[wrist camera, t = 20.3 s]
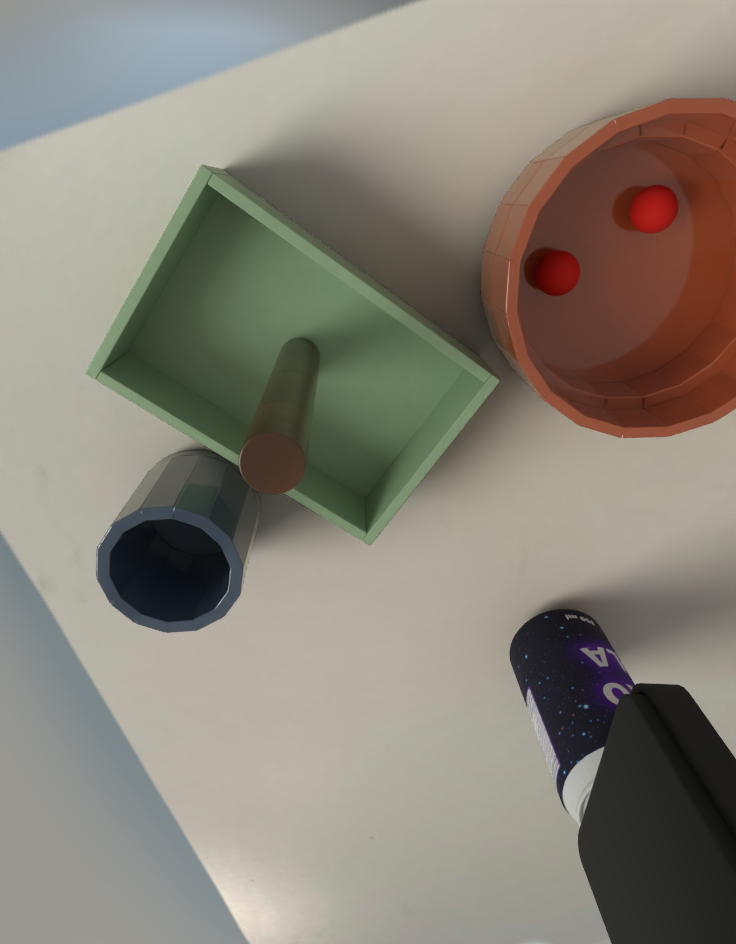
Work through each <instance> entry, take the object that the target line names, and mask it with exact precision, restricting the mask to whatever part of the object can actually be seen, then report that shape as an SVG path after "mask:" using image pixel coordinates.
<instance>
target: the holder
mask: <svg viewBox="0 0 736 944" xmlns="http://www.w3.org/2000/svg"><path fill="white" fill-rule="evenodd" d="M259 513H260V502H259V497H258V493H257V490H255V489H254V488H252V487H251V486H250V485H249V484H248V483H247V482H246V481H245V480H244V478H243V477H242V475H241V472H240V469H239V466H237V465H236V464H234V463H232V462H231V461H229V460H227V459H226V458H224V457H222V456H221V455H219V454H216V453H212V452H208V451H201V450H190V451H183V452H178V453H175V454H172V455H170V456H168V457H166V458H164V459H162V460H161V461H160V462H158V463H157V464H156V465H155V466H154V467H153V468H152V469H151V470H150V471H149V472H148V473H147V475H146V476H145V477H144V479H143V480H142V482H141V483H140V485H139V486H138V487H137V489H136V490H135V492H134V493H133V495H132V496H131V497H130V499H129V500H128V502H127V503H126V505H125V506H124V507H123V509H122V510H121V512H120V513H119V515H118V516H117V517H116V519H115V520H114V522H113V523H112V525H111V526H110V528H109V529H108V531H107V533H106V534H105V536H104V537H103V539H102V541H101V542H100V544H99V545H98V547H97V560H96V576H97V580H98V582H99V583H100V585H101V587H102V589H103V591H104V593H105V595H106V597H107V599H108V600H109V602H110V603H111V605H112V606H114V607H115V608H116V609H118V610H119V611H120V612H121V613H123V614H124V615H125V616H126V617H128V618H129V619H130V620H132V621H133V622H134V623H136V624H139V625H142V626H146V627H149V628H152V629H156V630H159V631H162V632H167V633H170V632H184V631H197V630H199V629H201V628H203V627H205V626H207V625H209V624H211V623H213V622H215V621H217V620H219V619H221V618H223V617H224V616H225V615H226V614H227V612H228V611H229V610H230V608H231V607H232V606H233V604H234V603H235V601H236V600H237V599H238V597H239V596H240V594H241V591H242V587H243V583H244V579H245V575H246V571H247V567H248V563H249V559H250V555H251V551H252V547H253V543H254V539H255V535H256V531H257V524H258V519H259Z"/></svg>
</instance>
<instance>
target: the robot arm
mask: <svg viewBox="0 0 736 944" xmlns="http://www.w3.org/2000/svg"><path fill="white" fill-rule="evenodd" d="M578 847H579V854H580V858H581V862H582V865H583V867H584V870H585V873H586V875H587V878H588V881H589V884H590V886H591V889H592V892H593V894H594V897H595V900H596V903H597V905H598V908H599V911H600V913H601V916H602V919H603V922H604V924H605V927H606V930H607V932H608V935H609V938H610V940H611V943H612V944H736V759H735V757H734V756H733V754H732V753H731V752H730V750H729V749H728V747H727V746H726V744H725V743H724V742H723V740H722V739H721V737H720V736H719V735H718V733H717V732H716V730H715V729H714V727H713V726H712V725H711V723H710V722H709V720H708V719H707V718H706V716H705V715H704V713H703V712H702V711H701V709H700V708H699V706H698V705H697V703H696V702H695V701H694V699H693V698H692V696H691V695H690V694H689V692H688V691H687V690H686V689H685V688H684V687H682V686H680V685H669V684H646V683H640V684H636V685H635V686H634V687H633V688H632V690H631V692H630V694H623V695H622V696H621V697H620V699H619V701H618V704H617V708H616V711H615V714H614V718H613V721H612V724H611V727H610V731H609V734H608V737H607V741H606V744H605V747H604V750H603V754H602V757H601V760H600V763H599V767H598V770H597V773H596V777H595V780H594V783H593V786H592V790H591V793H590V796H589V799H588V803H587V806H586V809H585V813H584V816H583V819H582V822H581V826H580V829H579V834H578Z"/></svg>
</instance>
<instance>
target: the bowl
mask: <svg viewBox="0 0 736 944" xmlns="http://www.w3.org/2000/svg"><path fill="white" fill-rule="evenodd" d="M652 185H663V186H666V187H668V188H670V189H671V190H672V191H673V192H674V193H675V195H676V197H677V199H678V212H677V215H676V218H675V219H674V221H673V222H672V223H671V225H670V226H669V227H667V228H666V229H664V230H663V231H660V232H658V233H653V234H647V233H643V232H640V231H639V230H637V229H636V228H635V227H634V226H633V224H632V223H631V221H630V217H629V209H630V205H631V202H632V200H633V199H634V197H635V196H636V195H637V194H638V193H639V192H640V191H641V190H643V189H644V188H646V187H649V186H652ZM500 204H501V205H499V206H498V209H497V212H496V215H495V218H494V220H493V223H492V226H491V229H490V232H489V234H488V237H487V240H486V243H485V246H484V250H483V257H482V277H481V299H482V303H483V307H484V310H485V314H486V318H487V322H488V325H489V329H490V333H491V336H492V338H493V340H494V341H495V343H496V344H497V346H498V347H499V349H500V350H501V352H502V353H503V355H504V356H505V358H506V359H507V361H508V362H509V364H510V365H511V367H512V368H513V369H514V370H515V371H516V372H517V373H518V374H519V375H520V377H521V378H522V379H523V380H524V381H525V382H527V384H528V385H529V386H530V387H531V388H532V389H533V390H534V391H535V392H536V393H537V394H538V395H539V396H540V397H541V398H542V399H543V400H544V401H546V402H547V403H549V404H550V405H551V406H553V407H554V408H555V409H557V410H558V411H560V412H561V413H562V414H564V415H565V416H566V417H568V418H569V419H570V420H572V421H573V422H575V423H576V424H577V425H580V426H582V427H586V428H589V429H593V430H596V431H599V432H603V433H606V434H609V435H613V436H616V437H619V438H621V437H622V438H642V437H668V436H672V435H675V434H679V433H682V432H685V431H688V430H691V429H694V428H697V427H700V426H704V425H707V424H710V423H713V422H714V421H717V420H719V419H720V418H722V417H723V416H725V415H726V414H728V413H730V412H731V411H733V410H734V409H736V102H735V101H733V100H730V99H727V98H726V99H725V98H671V99H666V100H663V101H659V102H656V103H653V104H649V105H646V106H642V107H639V108H636V109H632V110H629V111H626V112H622V113H619V114H616V115H613V116H610V117H607V118H605V119H602V120H599V121H596V122H594V123H591V124H588V125H585V126H583V127H580V128H577V129H575V130H572V131H570V132H568V133H567V134H565V135H564V136H563V137H561V138H560V139H559V140H557V141H556V142H555V143H554V144H552V145H551V146H550V147H548V148H547V149H546V150H545V151H543V152H542V153H541V154H539V155H538V156H537V157H536V158H534V159H533V160H532V161H530V163H529V164H528V165H527V166H526V168H525V169H524V170H523V172H522V173H521V175H520V176H519V177H518V179H517V180H516V182H515V183H514V184H513V186H512V187H511V188H510V190H509V191H508V193H507V194H506V195H505V197H504V198H503V200H502V201H501V203H500ZM556 250H562V251H566V252H569V253H571V254H572V255H573V256H574V257H575V258H576V259H577V261H578V263H579V266H580V277H579V280H578V283H577V284H576V286H575V287H574V288H573V289H572V290H571V291H570V292H568V293H566V294H564V295H561V296H550V295H547V294H545V293H544V292H542V291H541V290H540V289H539V288H538V286H537V284H536V281H535V269H536V266H537V264H538V262H539V261H540V259H541V258H542V257H543V256H544V255H546V254H547V253H549V252H552V251H556Z"/></svg>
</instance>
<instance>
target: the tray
mask: <svg viewBox="0 0 736 944" xmlns="http://www.w3.org/2000/svg"><path fill="white" fill-rule="evenodd" d="M293 338H305V339H308V340H310V341H311V342H312V343H314V344H315V346H316V347H317V348H318V350H319V353H320V365H319V372H318V380H317V388H316V395H315V403H314V411H313V418H312V426H311V434H310V441H309V449H308V457H307V464H306V471H305V474H304V477H303V479H302V480H301V482H300V483H299V484H298V485H297V486H296V487H295V488H293V489H292V490H290V491H288V492H285V493H284V494H285V495H287V496H289V497H290V498H292V499H294V500H295V501H297V502H299V503H300V504H302V505H304V506H305V507H307V508H309V509H310V510H312V511H313V512H315V513H317V514H318V515H320V516H322V517H323V518H325V519H327V520H328V521H330V522H332V523H333V524H335V525H337V526H338V527H340V528H342V529H343V530H345V531H347V532H348V533H350V534H352V535H353V536H355V537H357V538H358V539H360V540H362V541H363V542H365V543H366V544H368V545H371V544H372V543H373V541H374V540H375V539H376V538H377V536H378V535H379V534H380V532H381V531H382V530H383V529H384V527H385V526H386V525H387V524H388V522H389V521H390V520H391V519H392V517H393V516H394V515H395V513H396V512H397V511H398V510H399V508H400V507H401V506H402V505H403V503H404V502H405V501H406V500H407V498H408V497H409V496H410V495H411V493H412V492H413V491H414V489H415V488H416V487H417V486H418V484H419V483H420V482H421V481H422V479H423V478H424V477H425V476H426V474H427V473H428V472H429V470H430V469H431V468H432V467H433V465H434V464H435V463H436V462H437V460H438V459H439V458H440V457H441V455H442V454H443V453H444V452H445V450H446V449H447V448H448V446H449V445H450V444H451V443H452V441H453V440H454V439H455V438H456V436H457V435H458V434H459V433H460V431H461V430H462V429H463V427H464V426H465V425H466V424H467V422H468V421H469V420H470V419H471V417H472V416H473V415H474V414H475V412H476V411H477V410H478V409H479V407H480V406H481V405H482V403H483V402H484V401H485V400H486V398H487V397H488V396H489V395H490V393H491V392H492V391H493V390H494V388H495V387H496V386H497V384H498V383H499V382H500V379H499V378H498V377H497V376H496V375H495V374H494V372H493V371H492V370H491V369H490V368H489V367H488V365H487V364H486V363H485V362H484V361H483V360H482V359H481V357H479V356H478V355H477V354H475V353H474V352H472V351H471V350H470V349H468V348H467V347H466V346H464V345H463V344H461V343H460V342H459V341H457V340H456V339H455V338H453V337H452V336H451V335H449V334H448V333H446V332H445V331H444V330H442V329H441V328H440V327H438V326H437V325H435V324H434V323H433V322H431V321H430V320H429V319H427V318H426V317H424V316H423V315H422V314H420V313H419V312H418V311H416V310H415V309H413V308H412V307H411V306H409V305H408V304H407V303H405V302H404V301H402V300H401V299H400V298H398V297H397V296H396V295H394V294H393V293H391V292H390V291H389V290H387V289H386V288H385V287H383V286H382V285H380V284H379V283H378V282H376V281H375V280H374V279H372V278H371V277H369V276H368V275H367V274H365V273H364V272H363V271H361V270H360V269H359V268H357V267H356V266H354V265H353V264H352V263H350V262H349V261H348V260H346V259H345V258H343V257H342V256H341V255H339V254H338V253H337V252H335V251H334V250H332V249H331V248H330V247H328V246H327V245H326V244H324V243H323V242H321V241H320V240H319V239H317V238H316V237H315V236H313V235H312V234H310V233H309V232H308V231H306V230H305V229H304V228H302V227H301V226H299V225H298V224H297V223H295V222H294V221H293V220H291V219H290V218H288V217H287V216H286V215H284V214H283V213H282V212H280V211H279V210H278V209H276V208H275V207H273V206H272V205H271V204H269V203H268V202H267V201H265V200H264V199H262V198H261V197H260V196H258V195H257V194H256V193H254V192H253V191H251V190H250V189H249V188H247V187H246V186H245V185H243V184H242V183H240V182H239V181H238V180H236V179H235V178H234V177H232V176H231V175H229V174H228V173H227V172H225V171H224V170H223V169H219V168H214V167H210V166H206V165H201V167H200V169H199V171H198V172H197V174H196V176H195V178H194V179H193V181H192V183H191V185H190V187H189V188H188V190H187V192H186V194H185V196H184V197H183V199H182V201H181V203H180V205H179V206H178V208H177V210H176V212H175V213H174V215H173V217H172V219H171V221H170V222H169V224H168V226H167V228H166V230H165V231H164V233H163V235H162V237H161V239H160V240H159V242H158V244H157V246H156V248H155V249H154V251H153V253H152V255H151V256H150V258H149V260H148V262H147V264H146V265H145V267H144V269H143V271H142V273H141V274H140V276H139V278H138V280H137V282H136V283H135V285H134V287H133V289H132V290H131V292H130V294H129V296H128V298H127V299H126V301H125V303H124V305H123V307H122V308H121V310H120V312H119V314H118V316H117V317H116V319H115V321H114V323H113V325H112V326H111V328H110V330H109V332H108V333H107V335H106V337H105V339H104V341H103V342H102V344H101V346H100V348H99V350H98V351H97V353H96V355H95V357H94V359H93V360H92V362H91V364H90V366H89V367H88V369H87V371H86V374H87V375H88V376H90V377H92V378H93V379H96V380H97V381H98V382H100V383H102V384H103V385H105V386H107V387H108V388H110V389H112V390H113V391H115V392H117V393H118V394H120V395H121V396H123V397H125V398H126V399H128V400H130V401H131V402H133V403H135V404H136V405H138V406H140V407H141V408H143V409H145V410H146V411H148V412H150V413H151V414H153V415H155V416H156V417H158V418H160V419H161V420H163V421H165V422H166V423H168V424H169V425H171V426H173V427H174V428H176V429H178V430H179V431H181V432H183V433H184V434H186V435H188V436H189V437H191V438H193V439H194V440H196V441H198V442H199V443H201V444H203V445H204V446H206V447H208V448H209V449H211V450H213V451H214V452H216V453H217V454H219V455H221V456H222V457H224V458H226V459H227V460H229V461H231V462H232V463H234V464H236V465H237V466H239V455H240V451H241V449H242V446H243V444H244V441H245V439H246V436H247V434H248V431H249V429H250V426H251V424H252V421H253V419H254V416H255V414H256V411H257V408H258V406H259V403H260V401H261V398H262V396H263V393H264V391H265V388H266V386H267V383H268V381H269V378H270V376H271V373H272V371H273V368H274V366H275V363H276V360H277V358H278V355H279V353H280V350H281V348H282V346H283V345H284V344H285V343H286V342H287V341H289V340H291V339H293Z"/></svg>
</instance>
